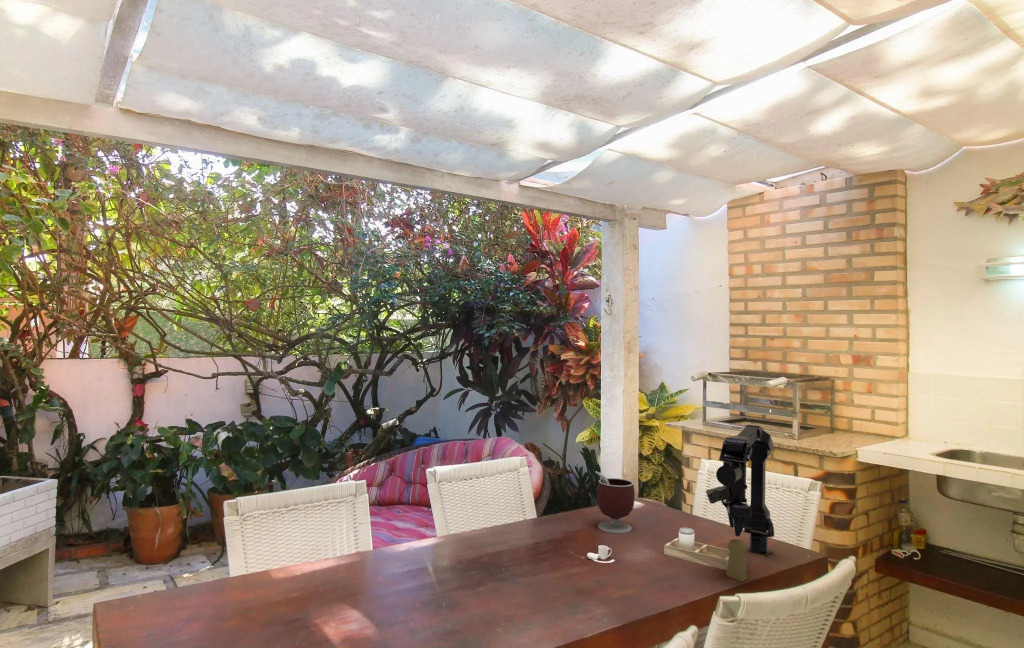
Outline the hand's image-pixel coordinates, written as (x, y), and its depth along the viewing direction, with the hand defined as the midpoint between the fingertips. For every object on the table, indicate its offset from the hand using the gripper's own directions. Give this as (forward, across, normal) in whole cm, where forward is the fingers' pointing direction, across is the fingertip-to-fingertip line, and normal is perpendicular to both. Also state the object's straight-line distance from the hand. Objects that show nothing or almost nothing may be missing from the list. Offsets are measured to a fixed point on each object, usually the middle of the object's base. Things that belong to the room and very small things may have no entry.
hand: (734, 531), depth 193 cm
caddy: (+14, -13, -8) cm, 20 cm away
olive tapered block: (+14, 0, +1) cm, 14 cm away
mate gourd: (+14, -40, -37) cm, 56 cm away
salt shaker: (+13, -15, -12) cm, 23 cm away
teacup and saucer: (+14, -8, -41) cm, 44 cm away
